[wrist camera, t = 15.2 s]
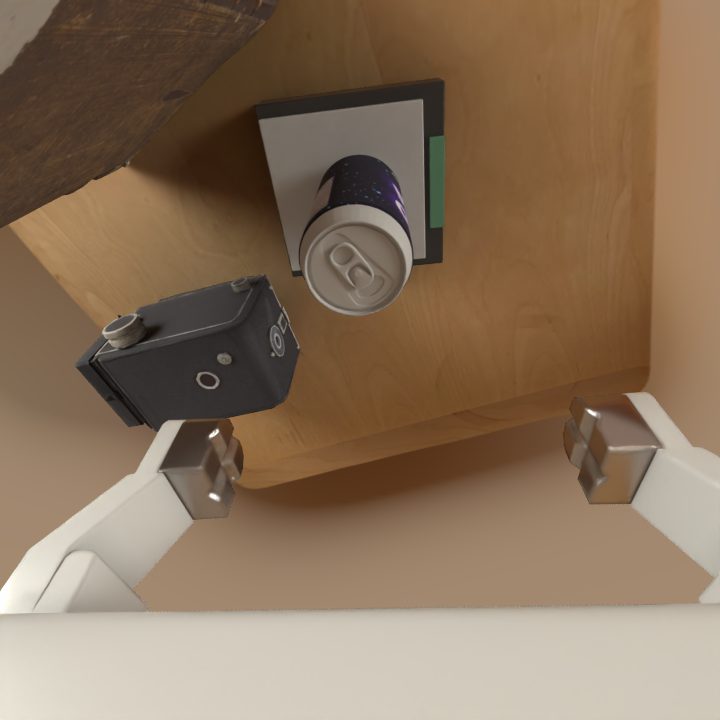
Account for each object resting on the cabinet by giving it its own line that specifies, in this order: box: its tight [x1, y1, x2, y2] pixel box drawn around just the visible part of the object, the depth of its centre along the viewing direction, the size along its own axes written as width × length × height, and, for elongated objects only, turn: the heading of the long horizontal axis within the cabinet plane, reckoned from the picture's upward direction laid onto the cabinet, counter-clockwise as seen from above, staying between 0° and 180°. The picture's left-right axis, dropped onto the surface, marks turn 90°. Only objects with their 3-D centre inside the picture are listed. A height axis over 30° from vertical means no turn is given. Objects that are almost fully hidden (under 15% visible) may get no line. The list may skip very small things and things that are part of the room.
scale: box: [254, 78, 445, 277], centre depth 30 cm, size 12×12×3 cm
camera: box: [75, 275, 300, 432], centre depth 34 cm, size 11×11×15 cm
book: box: [0, 0, 278, 228], centre depth 17 cm, size 17×7×25 cm, turn 118°
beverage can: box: [299, 155, 414, 316], centre depth 24 cm, size 6×6×12 cm
